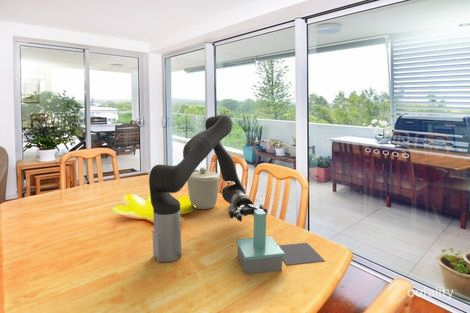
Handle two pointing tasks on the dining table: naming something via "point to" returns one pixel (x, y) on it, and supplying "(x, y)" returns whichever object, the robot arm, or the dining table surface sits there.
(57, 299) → the dining table surface
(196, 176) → the canister
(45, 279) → the dining table surface
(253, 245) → the lid
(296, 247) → the mat
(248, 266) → the tub
